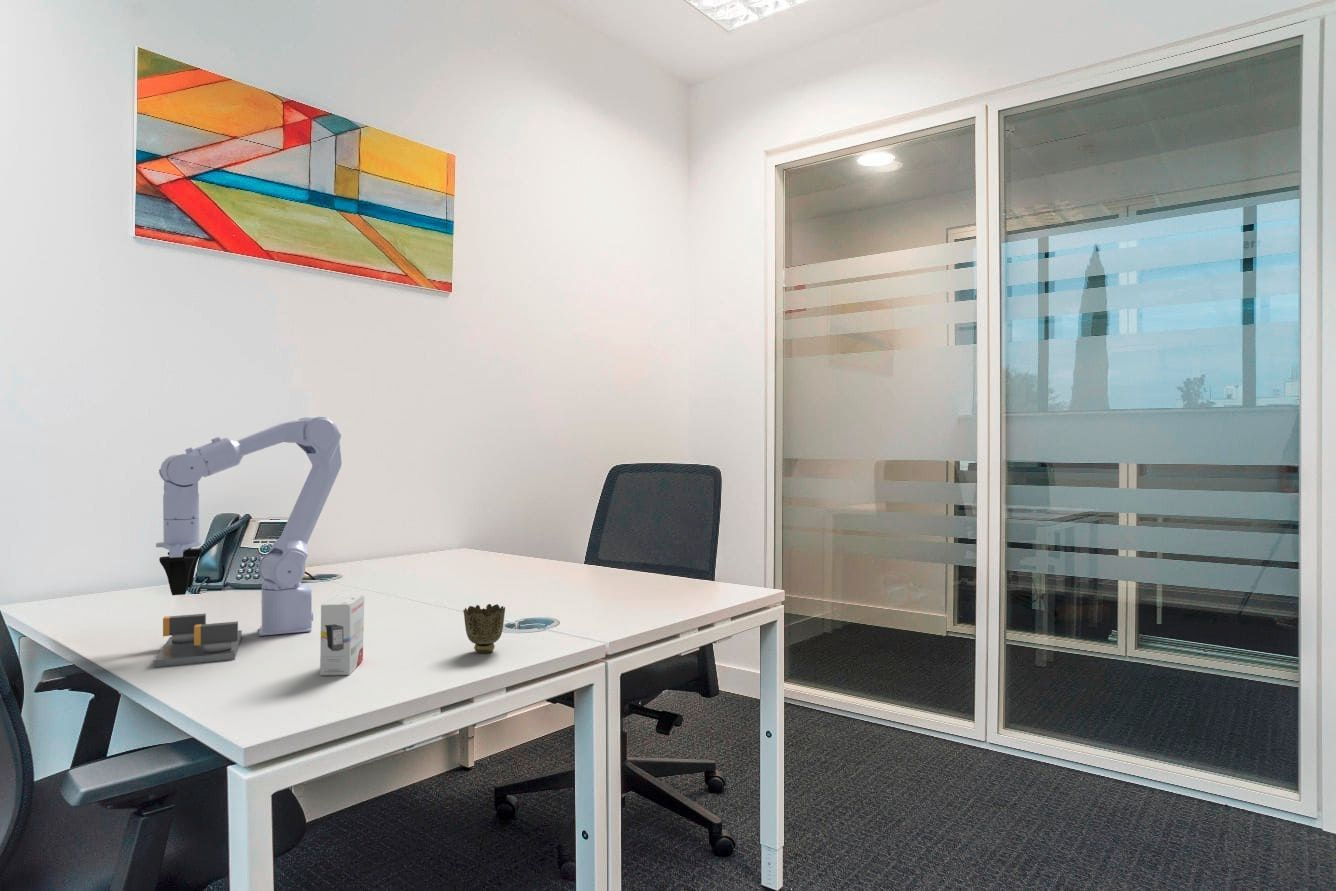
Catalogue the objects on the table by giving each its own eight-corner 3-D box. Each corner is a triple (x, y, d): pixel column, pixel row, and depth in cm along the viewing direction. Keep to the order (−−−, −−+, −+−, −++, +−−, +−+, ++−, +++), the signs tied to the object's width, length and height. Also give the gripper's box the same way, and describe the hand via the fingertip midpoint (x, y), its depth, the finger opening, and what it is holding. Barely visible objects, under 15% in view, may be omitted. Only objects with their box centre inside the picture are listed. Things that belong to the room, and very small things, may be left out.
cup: (463, 658, 140) (463, 613, 140) (463, 647, 147) (463, 604, 147) (506, 655, 142) (506, 610, 142) (503, 645, 149) (503, 602, 149)
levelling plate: (241, 636, 155) (241, 621, 155) (234, 659, 139) (234, 642, 139) (170, 642, 150) (170, 627, 150) (154, 667, 134) (154, 649, 134)
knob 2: (238, 643, 145) (238, 619, 145) (236, 649, 141) (236, 624, 141) (196, 647, 142) (196, 623, 142) (193, 653, 138) (193, 628, 138)
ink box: (335, 662, 137) (335, 594, 137) (365, 661, 138) (365, 593, 138) (318, 677, 129) (318, 604, 129) (350, 676, 129) (350, 604, 129)
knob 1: (206, 635, 151) (206, 611, 151) (204, 640, 147) (204, 616, 147) (165, 638, 148) (165, 615, 148) (161, 644, 144) (161, 619, 144)
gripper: (162, 516, 153) (163, 586, 153) (149, 523, 139) (149, 600, 140) (204, 514, 156) (205, 583, 156) (195, 521, 142) (195, 596, 142)
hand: (182, 591), depth 148 cm, fingers open, 7 cm apart
